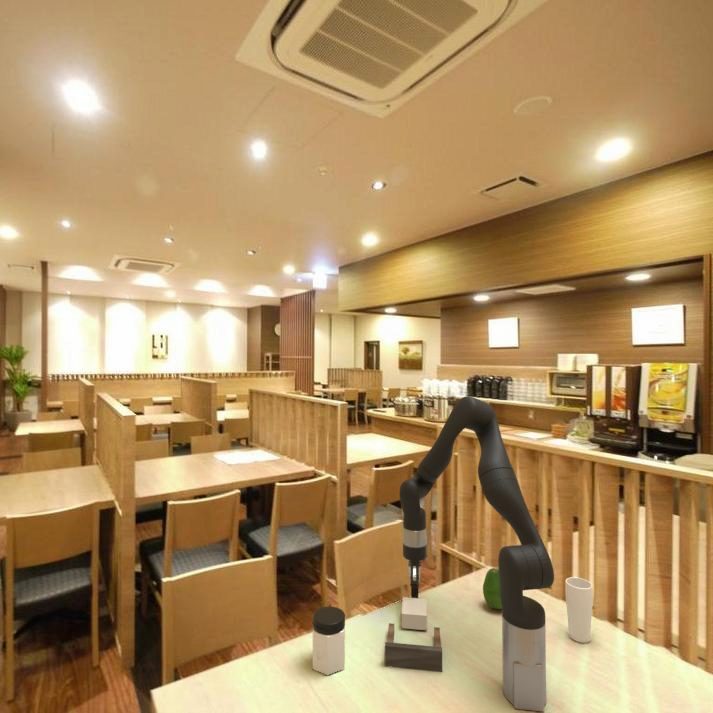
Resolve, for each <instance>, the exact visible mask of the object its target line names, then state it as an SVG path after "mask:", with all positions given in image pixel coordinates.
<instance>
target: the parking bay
mask: <svg viewBox="0 0 713 713" xmlns="http://www.w3.org/2000/svg"><path fill="white" fill-rule="evenodd" d="M440 628H441V627H436V626H434V627H433V638H434V640H433V641H434V645H421V644H412V643H411V644H410V643H402V642H401V643H400V642H394V641H393V640H394V639H395V623H388V629H387V634H386V635H387V637H386V641H385V643H384V667H388V666H392V667H391V668H398V667H399V668H400V669H409V670H417V671H418V670H419V671H420V670H421V671H429V672H440V673H443V647H442V641H441V629H440Z"/></svg>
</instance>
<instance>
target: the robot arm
mask: <svg viewBox="0 0 713 713" xmlns="http://www.w3.org/2000/svg"><path fill="white" fill-rule="evenodd" d="M444 423H445V424H444V425H443V427H442V429H441V431H440V433H439V435H438V437H437V438H436V441H435V442H434V443H433V445H432V446H431V448H430V449H429V450H428V452H427V454H425V456H423V459H421V461H420V462H419V464H418V466H417V472H416V473H415V474H414V475H413V476H412V477H409V478H408V479H406V480H404V481H402V483H401V484H400V487H399V500H400V505H401V510H402V512H403V518H402V519H403V527H402V557H403V559H405V560H408V563H407V564H408V565H407V567H408V568H407V569H408V573H409V574H408V578H409V580H410V584H409V585H410V590H411V591H410V593H411V594H410V598H419V587H420V580H421V571H422V561H424V560H426V559H427V557H428V556H427V555H428V553H427V552H428V550H427V547H428V546H427V540H428V538H427V536H428V534H427V517H426V516H427V514H426V511H425V509H424V508H422V507H421V504H420V503H421V502H420V501H421V500H422V499H423V498H425V497H426V496H427V495H429V493H430V491H432V489H433V487H434V485H435V483H436V482H437V480H438V479H439V478H440V477H441V475H442V474H443V472H444V471H445V470H446V469H447V467H448V466H449V465H450V462H451V460H452V456H453V450H454V445H455V441H456V439H457V437H458V436H459V435H460V434H461V433H462V431H464V430H465V429H467V430H470V431H471V432H474V434H475V436H476V438H477V440H478V443H479V445H480V451H481V452H480V457H479V461H478V465H477V476H478V480H479V484H480V486H481V490H482V492H483V495H484V498H485V500H486V501H487V502H488V504H489V505H490V506H491V507H492V508H493V509H494V510H495V511H496V513H497V514H499V515H500V516H501V517H502V518H503V519H504V520H505V521H506V522H507V523H508V524H509V526H510V527H511V528H512V530H513V531H514V532H515V534H516V536H517V538H518V540H519V543H520V544H518V545H517V544H516V545H515V544H514V545H506V546H502V547H501V549H500V550H499V553H498V560H497V562H498V563H497V564H498V566H497V567H498V569H499V582H500V599H501V605H502V609H501V621H502V622H501V625H502V626H501V633H502V635H501V636H502V637H501V638H502V640H501V641H502V644H501V645H502V646H501V648H502V650H501V651H502V653H501V655H502V657H501V658H502V693H503V695H504V697H505V698H506V699H507V701H508V702H509V703H510V704H512V705H513V708H514V709H517V710H524V711H525V710H526V711H527V710H528V711H534V712H545V706H546V705H547V704H546V703H547V654H546V653H547V650H546V645H547V644H546V642H547V641H546V640H547V639H546V636H547V635H546V632H547V631H546V610H545V608H544V607H543V605H542V604H540V602H538V601H537V600H536V599H533V598H531V597H529V596H526V595H524V593H523V592H524V591H530V590H543V589H548V588H550V587H552V585H554V581H555V571H554V567H553V566H554V565H553V563H552V560H551V558H550V555H549V552H548V549H547V548H546V545H545V544H544V542H543V539H542V538H541V537H542V536H541V535H540V534H539V531H538V529H537V526H536V525H535V523H534V520H533V518H532V516H531V513H530V510H529V509H528V507H527V504H526V501H525V497H524V496H523V493H522V489H521V487H520V483H519V481H518V478H517V475H516V473H515V470H514V468H513V465H512V463H511V460H510V458H509V455H508V451H507V450H506V445H505V444H504V441H503V438H502V434H501V433H502V432H501V428H500V426H499V422H498V418H497V414H496V412H495V410H494V408H493V406H492V405H491V404H489V403H488V402H486V401H483V400H480V399H478V398H475V397H474V396H470V395H469V396H468V395H467V396H463V397H461V398H460V399H459V400H458V401H457V402H456V404H455V405H454V406H453V408H452V410H451V412H449V416H448V417H447V419H446V420H445V422H444Z"/></svg>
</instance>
